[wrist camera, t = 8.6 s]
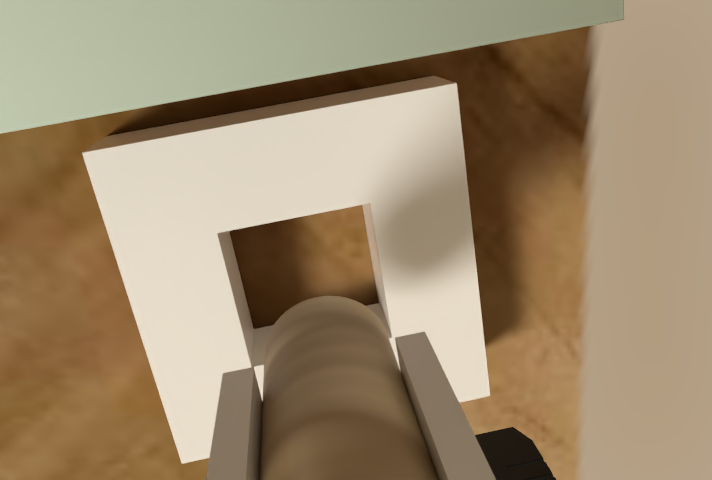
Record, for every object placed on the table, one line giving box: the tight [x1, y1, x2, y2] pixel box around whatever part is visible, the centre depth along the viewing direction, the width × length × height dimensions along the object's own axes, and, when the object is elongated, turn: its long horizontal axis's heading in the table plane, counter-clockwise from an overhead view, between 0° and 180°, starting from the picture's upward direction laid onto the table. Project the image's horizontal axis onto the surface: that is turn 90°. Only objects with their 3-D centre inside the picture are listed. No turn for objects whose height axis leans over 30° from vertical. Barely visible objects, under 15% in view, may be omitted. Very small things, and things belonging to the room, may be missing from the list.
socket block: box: [82, 76, 490, 464], centre depth 23 cm, size 12×12×3 cm
